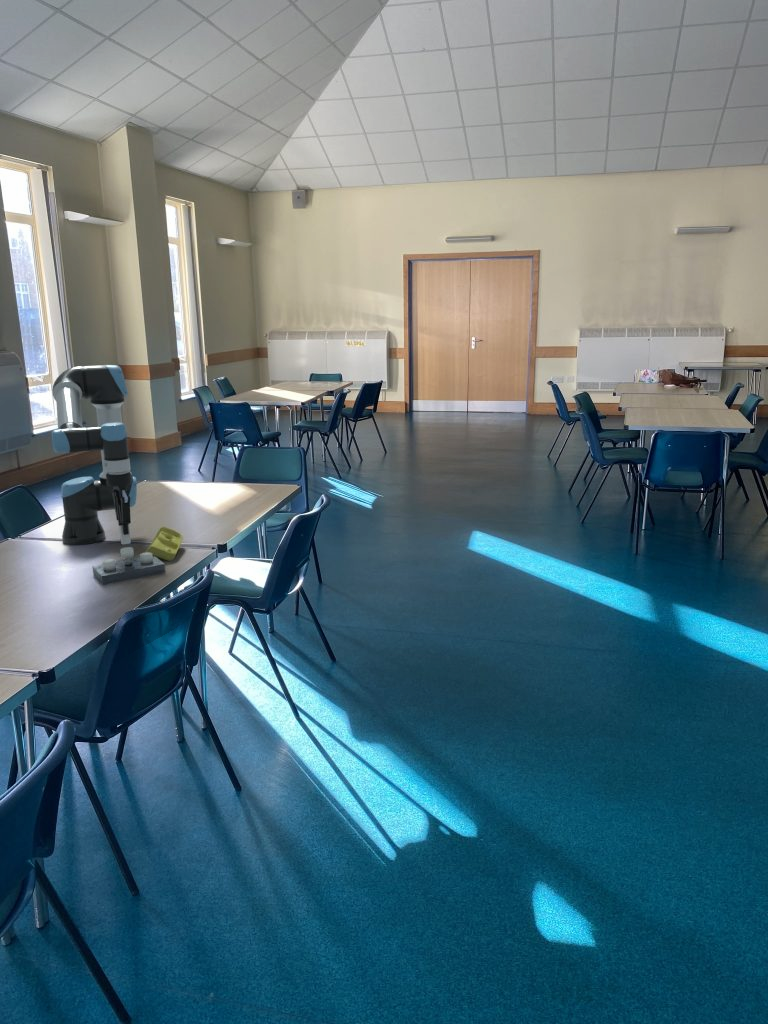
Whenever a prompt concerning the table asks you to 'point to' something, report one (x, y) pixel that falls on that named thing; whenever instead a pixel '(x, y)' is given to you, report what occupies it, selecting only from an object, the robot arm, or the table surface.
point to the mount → (128, 570)
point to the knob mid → (127, 554)
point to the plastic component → (166, 543)
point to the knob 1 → (109, 564)
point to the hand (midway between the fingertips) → (126, 543)
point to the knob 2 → (146, 557)
